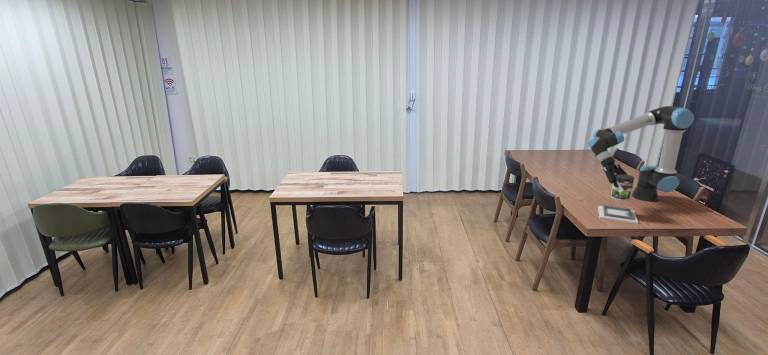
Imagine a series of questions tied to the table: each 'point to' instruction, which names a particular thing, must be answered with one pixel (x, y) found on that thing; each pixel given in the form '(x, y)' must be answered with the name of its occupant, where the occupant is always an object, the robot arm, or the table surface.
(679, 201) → the table surface
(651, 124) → the robot arm
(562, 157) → the table surface
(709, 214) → the table surface
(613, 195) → the coffee can
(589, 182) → the table surface
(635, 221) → the base board
